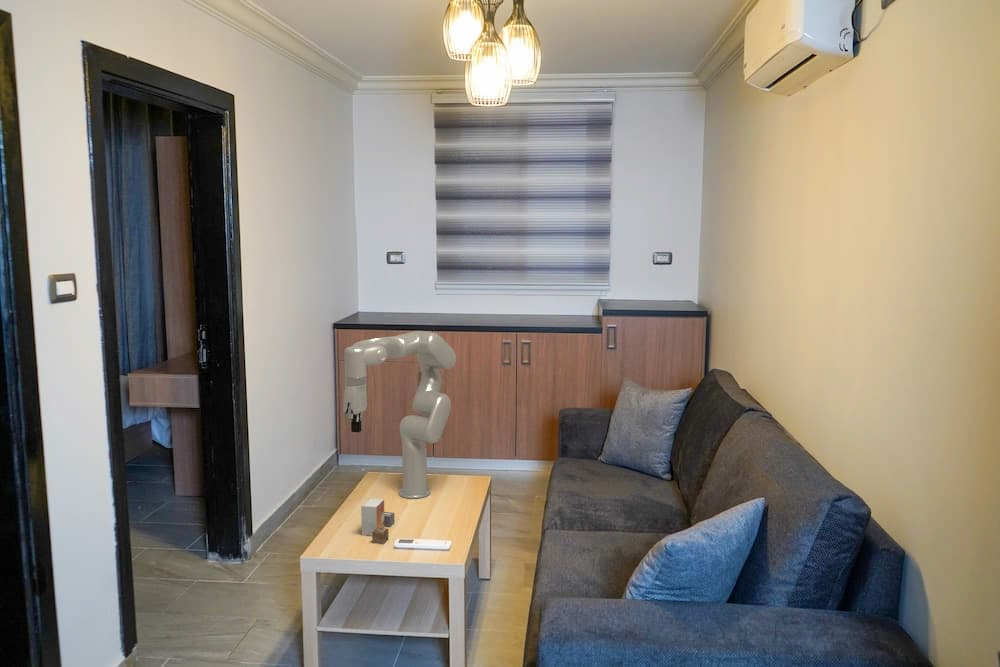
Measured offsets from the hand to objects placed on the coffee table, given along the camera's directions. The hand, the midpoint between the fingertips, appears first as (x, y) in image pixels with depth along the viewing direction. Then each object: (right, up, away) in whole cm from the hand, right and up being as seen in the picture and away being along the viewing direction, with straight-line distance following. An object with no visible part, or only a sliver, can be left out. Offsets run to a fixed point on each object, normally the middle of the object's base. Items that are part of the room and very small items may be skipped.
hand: (356, 431), depth 267 cm
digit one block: (+11, -33, -2) cm, 35 cm away
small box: (+7, -34, -8) cm, 36 cm away
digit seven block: (+11, -35, -17) cm, 40 cm away
